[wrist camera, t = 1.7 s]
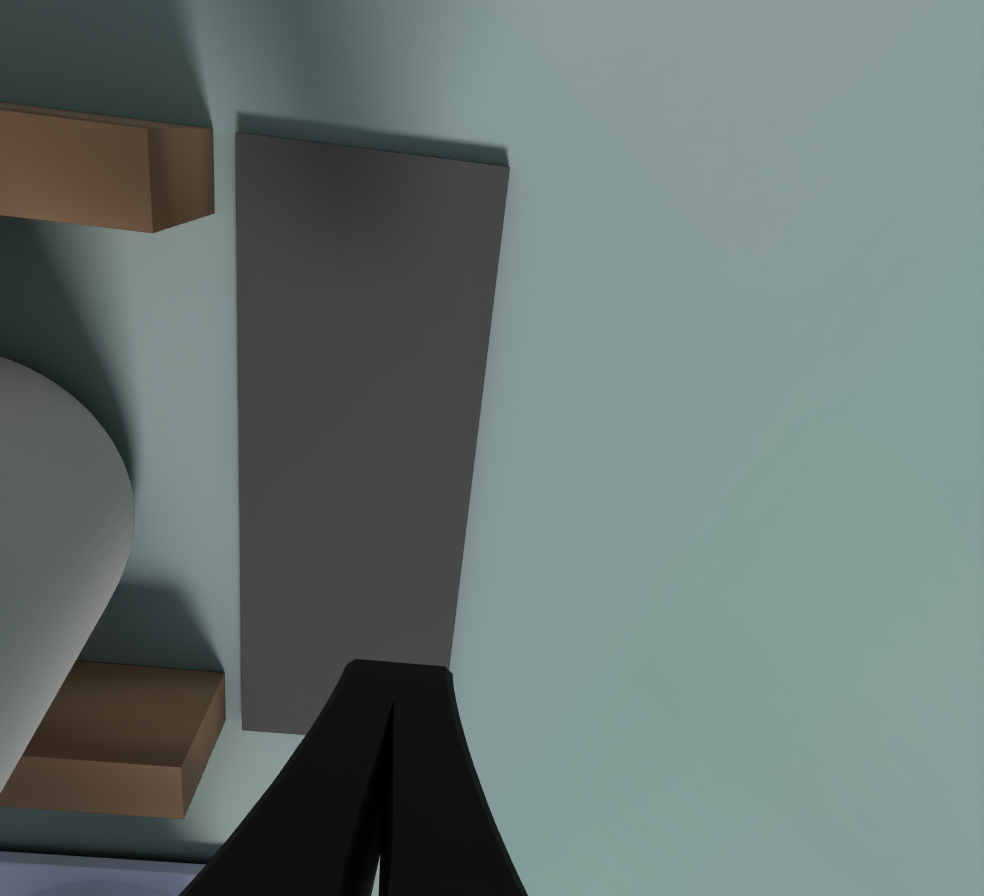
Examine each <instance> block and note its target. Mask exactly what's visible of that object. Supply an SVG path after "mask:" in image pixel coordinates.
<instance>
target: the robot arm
mask: <svg viewBox="0 0 984 896" xmlns="http://www.w3.org/2000/svg"><path fill="white" fill-rule="evenodd" d="M379 857H380V876H379V896H528V895H527V893H526V891H525V889H524V886H523V884H522V882H521V880H520V878H519V876H518V874H517V872H516V869H515V867H514V865H513V863H512V861H511V858H510V856H509V854H508V851H507V849H506V847H505V845H504V842H503V840H502V838H501V835H500V833H499V831H498V828H497V826H496V823H495V821H494V818H493V816H492V813H491V811H490V808H489V806H488V803H487V801H486V798H485V795H484V792H483V789H482V787H481V784H480V781H479V778H478V775H477V773H476V770H475V767H474V764H473V761H472V758H471V755H470V752H469V749H468V746H467V742H466V739H465V735H464V731H463V728H462V724H461V721H460V716H459V712H458V708H457V703H456V698H455V692H454V686H453V674H452V673H451V672H450V671H449V670H448V669H447V668H446V666H435V665H424V664H412V663H400V662H388V661H376V660H364V659H354V660H352V661H351V662H350V663H348V664H347V665H346V666H345V668H344V671H343V673H342V675H341V677H340V679H339V681H338V683H337V685H336V687H335V688H334V690H333V692H332V694H331V696H330V697H329V699H328V701H327V703H326V704H325V706H324V708H323V709H322V711H321V712H320V714H319V716H318V717H317V719H316V720H315V722H314V723H313V725H312V727H311V728H310V730H309V731H308V733H307V734H306V736H305V737H304V739H303V740H302V742H301V743H300V744H299V746H298V747H297V749H296V750H295V752H294V753H293V754H292V756H291V757H290V759H289V760H288V762H287V763H286V764H285V766H284V767H283V769H282V770H281V772H280V773H279V774H278V776H277V777H276V779H275V780H274V781H273V783H272V784H271V785H270V787H269V788H268V789H267V790H266V792H265V793H264V794H263V795H262V797H261V798H260V799H259V801H258V802H257V803H256V804H255V806H254V807H253V808H252V809H251V811H250V812H249V813H248V814H247V816H246V817H245V818H244V820H243V821H242V822H241V823H240V825H239V826H238V827H237V828H236V830H235V831H234V832H233V833H232V835H231V836H230V837H229V838H228V840H227V841H226V842H225V843H224V844H223V845H222V847H221V848H220V849H219V850H218V851H217V852H216V854H215V855H214V856H213V857H212V858H211V859H210V861H209V862H208V863H207V864H190V863H175V862H159V861H144V860H128V859H113V858H98V857H82V856H67V855H51V854H36V853H20V852H5V851H0V896H371V894H372V889H373V885H374V880H375V876H376V871H377V866H378V862H379Z"/></svg>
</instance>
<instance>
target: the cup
mask: <svg viewBox="0 0 984 896" xmlns="http://www.w3.org/2000/svg"><path fill="white" fill-rule="evenodd" d="M134 526H135V508H134V499H133V492H132V487H131V483H130V479H129V476H128V473H127V470H126V467H125V465H124V462H123V460H122V458H121V456H120V454H119V452H118V450H117V449H116V447H115V445H114V443H113V441H112V440H111V438H110V437H109V435H108V434H107V432H106V431H105V429H104V428H103V427H102V426H101V425H100V423H99V422H98V421H97V420H96V418H95V417H94V416H93V415H92V414H91V413H90V412H89V411H88V410H87V409H86V408H85V407H84V406H83V405H82V404H81V403H80V402H79V401H78V400H77V399H75V398H74V397H73V396H72V395H71V394H70V393H68V392H67V391H66V390H64V389H63V388H62V387H60V386H59V385H57V384H56V383H54V382H53V381H51V380H49V379H48V378H46V377H45V376H43V375H42V374H40V373H38V372H36V371H34V370H32V369H30V368H28V367H26V366H24V365H21V364H19V363H16V362H14V361H11V360H9V359H6V358H3V357H0V793H1V791H2V789H3V788H4V786H5V784H6V782H7V781H8V779H9V777H10V775H11V774H12V772H13V770H14V768H15V766H16V765H17V763H18V761H19V759H20V758H21V756H22V754H23V752H24V751H25V749H26V747H27V745H28V744H29V742H30V740H31V738H32V737H33V735H34V733H35V731H36V729H37V728H38V726H39V724H40V722H41V721H42V719H43V717H44V715H45V714H46V712H47V710H48V708H49V707H50V705H51V703H52V701H53V700H54V698H55V696H56V694H57V693H58V691H59V689H60V687H61V685H62V684H63V682H64V680H65V678H66V677H67V675H68V673H69V671H70V670H71V668H72V666H73V664H74V663H75V661H76V659H77V657H78V656H79V654H80V652H81V650H82V649H83V647H84V645H85V643H86V641H87V640H88V638H89V636H90V634H91V633H92V631H93V629H94V627H95V626H96V624H97V622H98V620H99V619H100V617H101V615H102V613H103V612H104V610H105V608H106V606H107V604H108V602H109V600H110V599H111V597H112V595H113V593H114V591H115V589H116V587H117V585H118V583H119V581H120V579H121V576H122V574H123V572H124V569H125V566H126V563H127V560H128V557H129V554H130V550H131V546H132V541H133V536H134Z"/></svg>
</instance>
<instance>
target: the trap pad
mask: <svg viewBox="0 0 984 896" xmlns="http://www.w3.org/2000/svg"><path fill="white" fill-rule="evenodd" d="M509 171H510V167H509V166H501V165H493V164H485V163H477V162H470V161H462V160H454V159H446V158H438V157H430V156H422V155H415V154H407V153H399V152H391V151H383V150H375V149H368V148H360V147H352V146H344V145H336V144H328V143H320V142H313V141H305V140H297V139H289V138H281V137H273V136H265V135H258V134H250V133H242V132H236V221H237V312H238V403H239V494H240V585H241V676H242V730H247V731H260V732H273V733H286V734H299V735H306V734H307V733H308V731H309V730H310V728H311V727H312V725H313V723H314V722H315V720H316V719H317V717H318V716H319V714H320V712H321V711H322V709H323V708H324V706H325V704H326V703H327V701H328V699H329V697H330V696H331V694H332V692H333V690H334V688H335V687H336V685H337V683H338V681H339V679H340V677H341V675H342V673H343V671H344V668H345V666H346V665H347V664H348V663H350V662H351V661H352V660H354V659H364V660H376V661H388V662H400V663H412V664H424V665H435V666H446V668H447V669H448V670H449V666H450V657H451V649H452V641H453V633H454V624H455V616H456V608H457V600H458V591H459V583H460V575H461V567H462V558H463V550H464V542H465V534H466V525H467V517H468V509H469V501H470V493H471V484H472V476H473V468H474V460H475V451H476V443H477V435H478V427H479V418H480V410H481V402H482V394H483V385H484V377H485V369H486V361H487V352H488V344H489V336H490V328H491V319H492V311H493V303H494V295H495V286H496V278H497V270H498V262H499V253H500V245H501V237H502V229H503V220H504V212H505V204H506V196H507V187H508V179H509Z"/></svg>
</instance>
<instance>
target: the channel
mask: <svg viewBox="0 0 984 896" xmlns="http://www.w3.org/2000/svg"><path fill="white" fill-rule="evenodd" d="M214 213H215V211H214V165H213V129H211V128H203V127H195V126H187V125H179V124H171V123H163V122H156V121H148V120H140V119H132V118H124V117H116V116H109V115H101V114H93V113H85V112H77V111H69V110H61V109H54V108H46V107H38V106H30V105H22V104H14V103H6V102H0V215H3V216H12V217H20V218H29V219H37V220H46V221H54V222H62V223H71V224H79V225H88V226H96V227H105V228H113V229H122V230H130V231H139V232H147V233H155V232H158V231H161V230H164V229H167V228H170V227H173V226H177V225H180V224H183V223H186V222H189V221H192V220H195V219H198V218H201V217H204V216H208V215H211V214H214ZM225 720H226V716H225V673H218V672H206V671H194V670H182V669H169V668H157V667H145V666H132V665H120V664H108V663H95V662H83V661H75V663H74V664H73V666H72V668H71V670H70V671H69V673H68V675H67V677H66V678H65V680H64V682H63V684H62V685H61V687H60V689H59V691H58V693H57V694H56V696H55V698H54V700H53V701H52V703H51V705H50V707H49V708H48V710H47V712H46V714H45V715H44V717H43V719H42V721H41V722H40V724H39V726H38V728H37V729H36V731H35V733H34V735H33V737H32V738H31V740H30V742H29V744H28V745H27V747H26V749H25V751H24V752H23V754H22V756H21V758H20V759H19V761H18V763H17V765H16V766H15V768H14V770H13V772H12V774H11V775H10V777H9V779H8V781H7V782H6V784H5V786H4V788H3V789H2V791H1V793H0V807H14V808H29V809H44V810H58V811H73V812H87V813H102V814H117V815H131V816H146V817H160V818H175V819H184V817H185V815H186V812H187V810H188V808H189V805H190V803H191V801H192V798H193V796H194V794H195V791H196V789H197V786H198V784H199V782H200V779H201V777H202V775H203V772H204V770H205V768H206V765H207V763H208V760H209V758H210V756H211V753H212V751H213V749H214V746H215V744H216V741H217V739H218V737H219V734H220V732H221V730H222V727H223V725H224V723H225Z"/></svg>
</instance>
